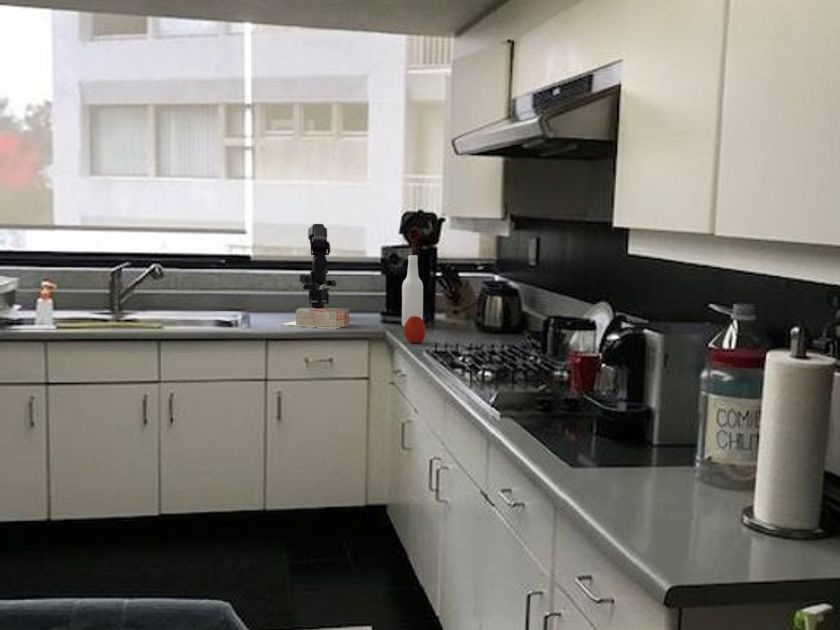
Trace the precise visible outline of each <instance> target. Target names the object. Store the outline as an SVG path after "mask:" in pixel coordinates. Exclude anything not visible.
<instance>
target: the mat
mask: <svg viewBox="0 0 840 630" xmlns="http://www.w3.org/2000/svg"><path fill="white" fill-rule="evenodd" d="M282 324H283V325H282V326H286V325H294V326H293V327H299V326H305V327H304V328H313V327H317V328H316V329H326V328H327V330H328V329H329V330H338V329H342V328H341V327H330V326H315V325H296V320H294V321H288V322H284V323H282ZM348 326H349V324H347V325H346V326H345V327H348ZM337 328H338V329H337Z"/></svg>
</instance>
